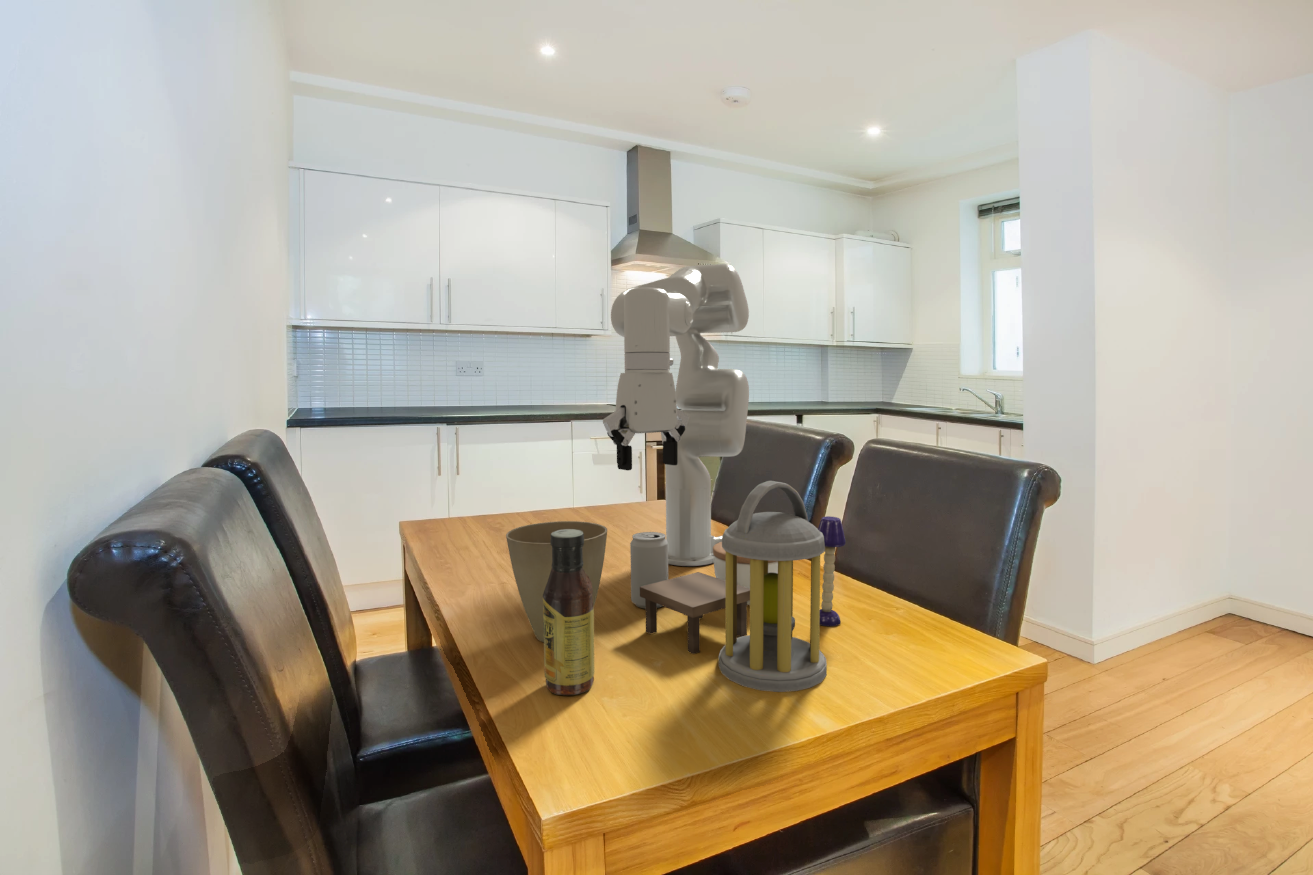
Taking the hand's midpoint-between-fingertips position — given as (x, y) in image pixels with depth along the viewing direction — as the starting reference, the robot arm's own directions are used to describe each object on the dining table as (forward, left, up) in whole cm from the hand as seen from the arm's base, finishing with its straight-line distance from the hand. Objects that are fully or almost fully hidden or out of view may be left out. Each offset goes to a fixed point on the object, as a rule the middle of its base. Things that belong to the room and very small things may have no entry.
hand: (648, 467), depth 113 cm
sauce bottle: (+27, +18, -24) cm, 40 cm away
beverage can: (0, 0, -24) cm, 24 cm away
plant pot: (+19, +2, -24) cm, 30 cm away
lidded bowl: (-15, +9, -24) cm, 30 cm away
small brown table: (+3, +15, -24) cm, 28 cm away
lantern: (+3, +30, -24) cm, 39 cm away
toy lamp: (-16, +25, -24) cm, 38 cm away
